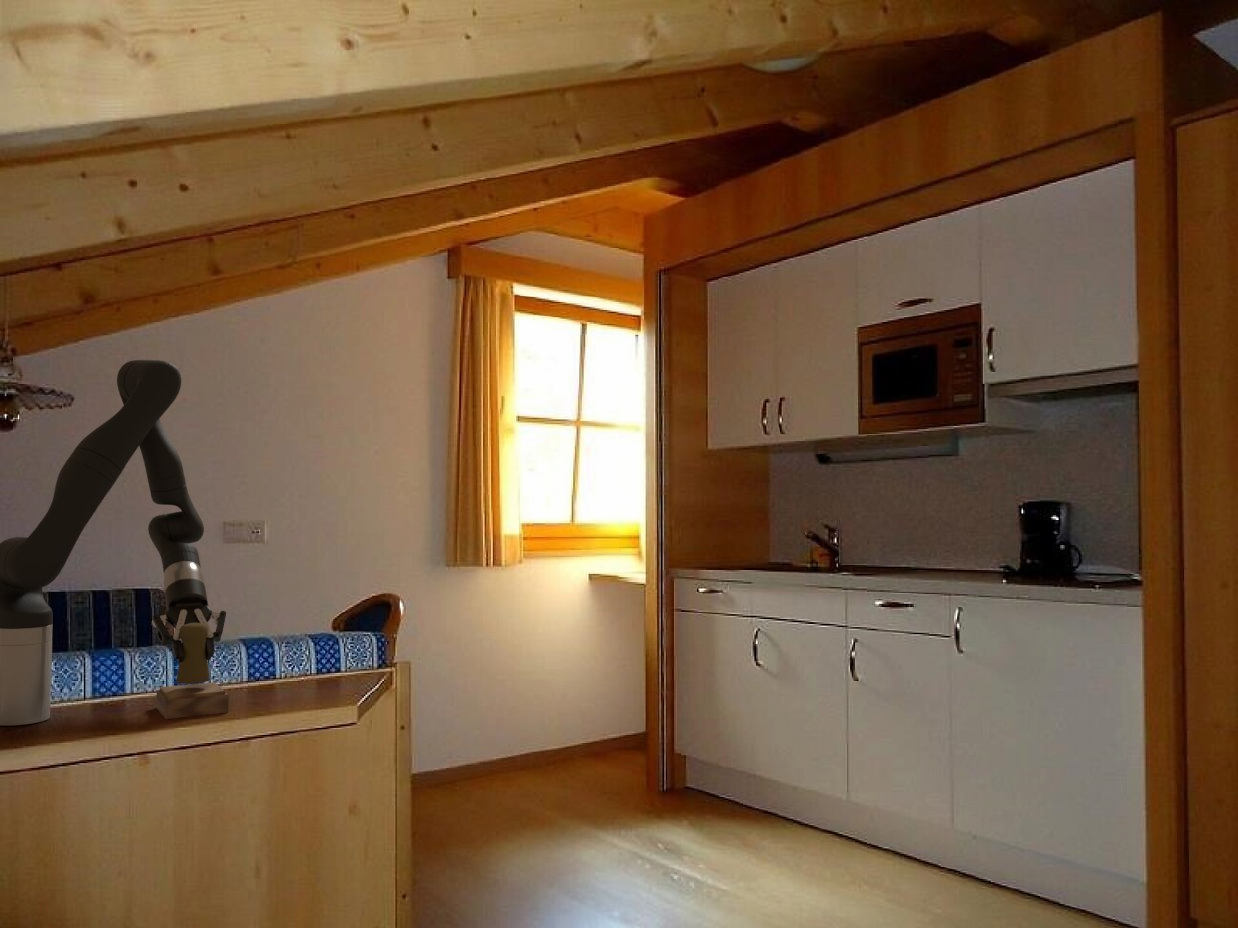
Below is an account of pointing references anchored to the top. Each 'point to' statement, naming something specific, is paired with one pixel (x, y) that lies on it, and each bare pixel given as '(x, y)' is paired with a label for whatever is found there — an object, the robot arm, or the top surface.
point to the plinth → (191, 700)
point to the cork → (193, 654)
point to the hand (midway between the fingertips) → (195, 658)
